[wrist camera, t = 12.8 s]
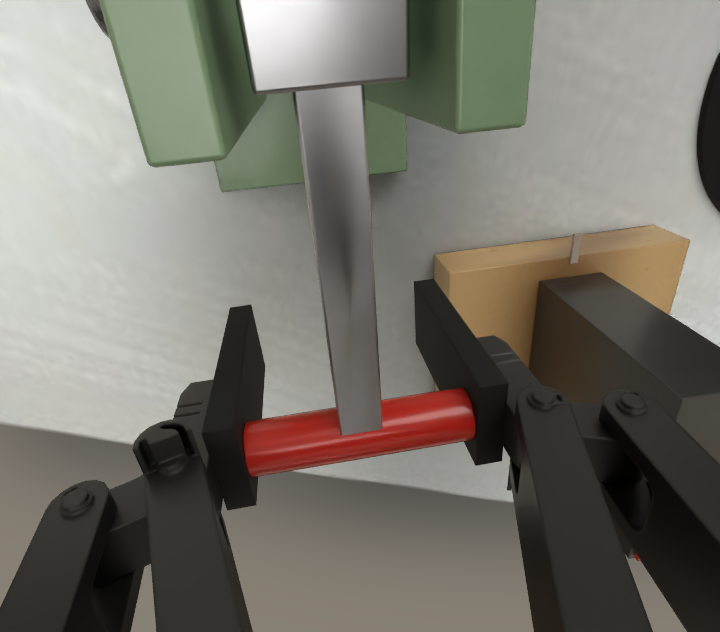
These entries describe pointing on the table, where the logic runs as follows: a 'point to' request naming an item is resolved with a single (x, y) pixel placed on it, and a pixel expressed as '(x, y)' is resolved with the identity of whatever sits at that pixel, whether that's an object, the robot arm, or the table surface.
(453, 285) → the tan slab
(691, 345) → the dark grey block
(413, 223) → the table surface
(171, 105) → the green lever stand
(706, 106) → the black round platter
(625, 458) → the robot arm
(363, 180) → the toggle lever
